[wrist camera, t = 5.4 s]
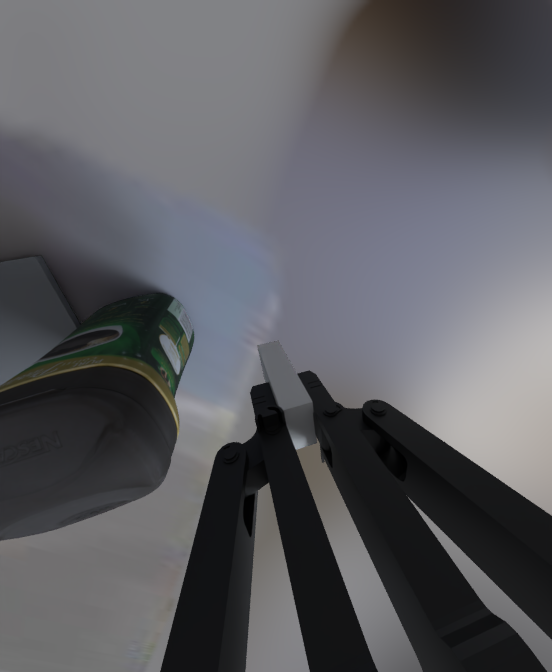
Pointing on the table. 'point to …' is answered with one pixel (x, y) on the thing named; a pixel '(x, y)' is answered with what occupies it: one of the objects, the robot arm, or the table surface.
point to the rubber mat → (30, 314)
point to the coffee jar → (93, 417)
